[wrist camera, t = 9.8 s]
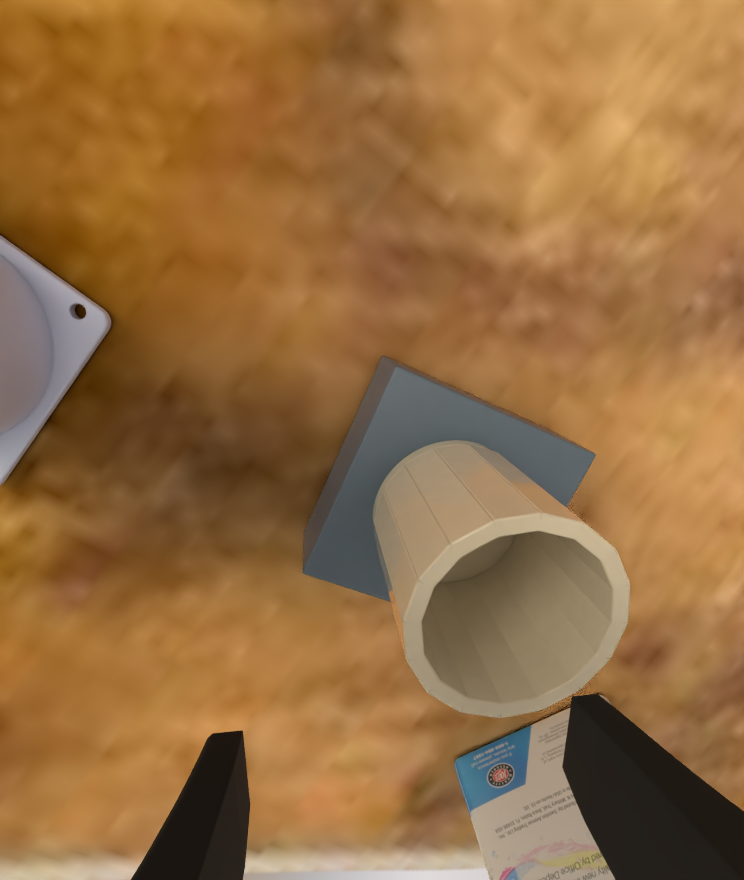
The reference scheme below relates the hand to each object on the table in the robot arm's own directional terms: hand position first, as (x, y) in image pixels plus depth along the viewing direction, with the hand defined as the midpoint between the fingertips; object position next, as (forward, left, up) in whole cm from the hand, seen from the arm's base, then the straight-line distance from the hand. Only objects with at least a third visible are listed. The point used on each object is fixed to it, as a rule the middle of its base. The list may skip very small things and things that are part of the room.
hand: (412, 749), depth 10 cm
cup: (+1, +3, -7) cm, 8 cm away
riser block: (+1, +3, -10) cm, 11 cm away
